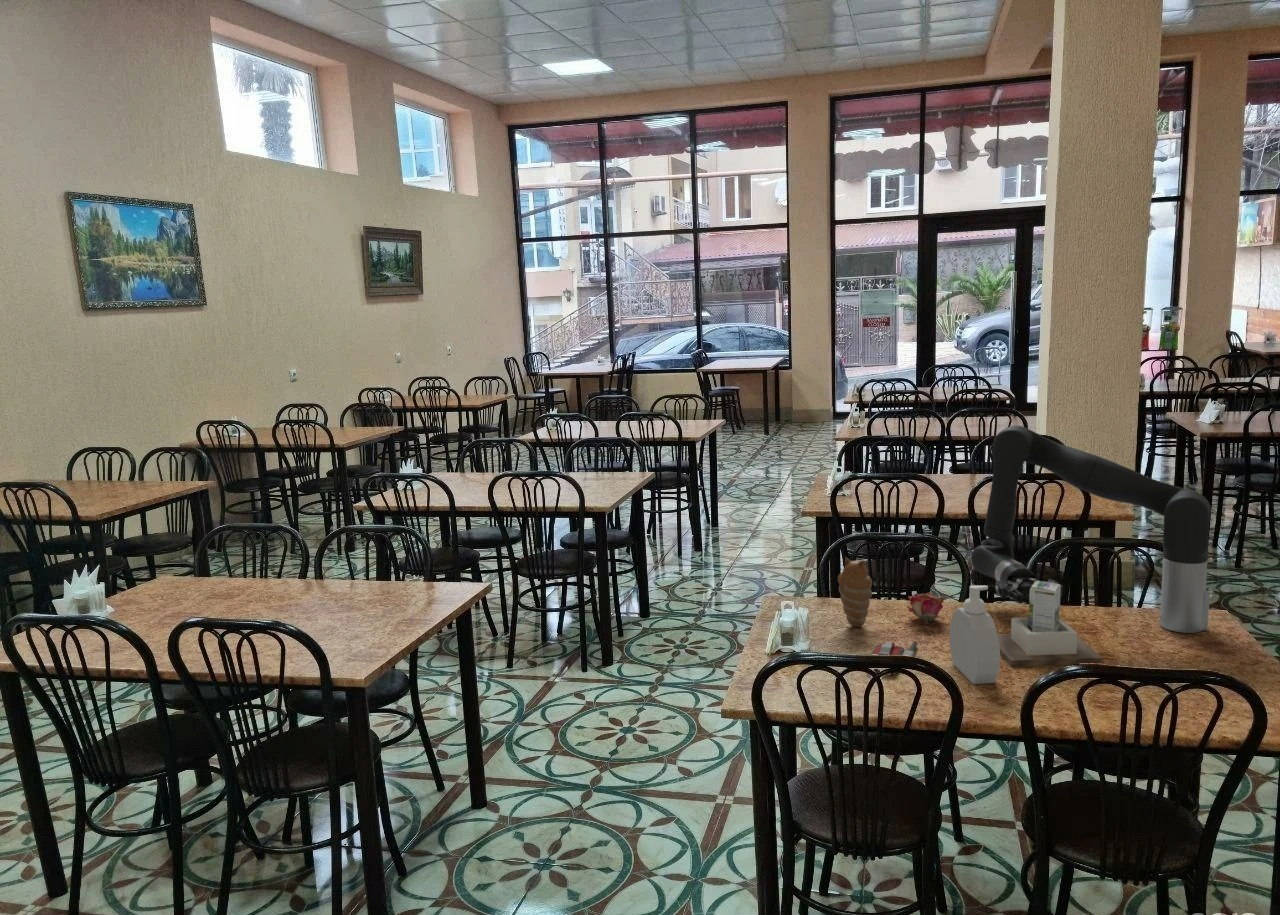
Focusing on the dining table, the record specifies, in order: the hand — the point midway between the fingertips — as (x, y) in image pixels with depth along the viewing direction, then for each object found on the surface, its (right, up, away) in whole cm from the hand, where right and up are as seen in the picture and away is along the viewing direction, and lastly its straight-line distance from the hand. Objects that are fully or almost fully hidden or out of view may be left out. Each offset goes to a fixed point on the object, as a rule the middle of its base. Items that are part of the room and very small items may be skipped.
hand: (1040, 598), depth 217 cm
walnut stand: (0, -12, 0) cm, 12 cm away
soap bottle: (-19, -15, -10) cm, 26 cm away
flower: (-20, -9, +23) cm, 32 cm away
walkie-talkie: (-34, -15, -1) cm, 37 cm away
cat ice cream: (-38, -11, +21) cm, 44 cm away
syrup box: (+1, -11, 0) cm, 11 cm away
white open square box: (0, -11, -1) cm, 11 cm away
